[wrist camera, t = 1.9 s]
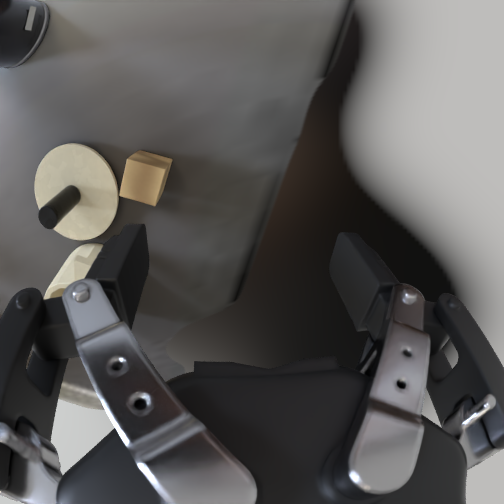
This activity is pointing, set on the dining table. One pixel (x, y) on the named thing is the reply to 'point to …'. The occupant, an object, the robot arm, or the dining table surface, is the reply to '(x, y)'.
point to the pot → (73, 268)
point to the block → (145, 177)
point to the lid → (76, 192)
